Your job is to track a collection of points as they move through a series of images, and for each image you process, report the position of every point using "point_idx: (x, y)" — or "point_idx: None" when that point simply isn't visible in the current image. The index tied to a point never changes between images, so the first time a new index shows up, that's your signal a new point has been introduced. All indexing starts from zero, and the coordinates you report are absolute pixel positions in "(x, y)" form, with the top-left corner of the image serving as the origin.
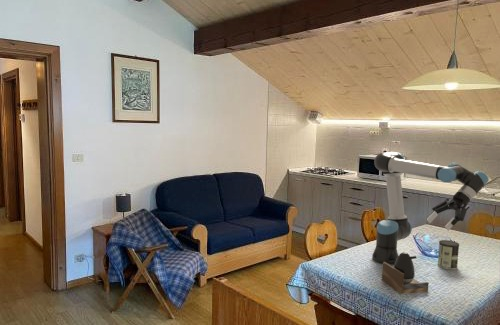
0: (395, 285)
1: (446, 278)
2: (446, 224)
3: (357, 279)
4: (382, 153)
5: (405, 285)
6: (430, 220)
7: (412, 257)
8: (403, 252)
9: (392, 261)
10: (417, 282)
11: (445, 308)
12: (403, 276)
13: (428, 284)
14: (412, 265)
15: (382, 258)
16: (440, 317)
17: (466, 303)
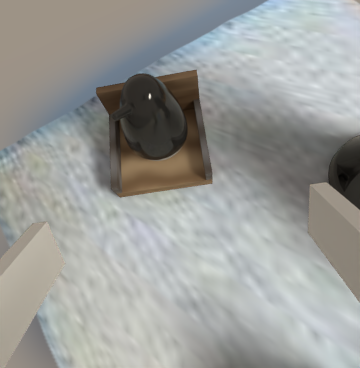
0: None
1: (208, 324)
2: (32, 239)
3: (208, 57)
4: None
5: (110, 121)
6: (319, 228)
7: (119, 108)
8: (143, 79)
9: (335, 180)
10: (152, 180)
11: (32, 189)
12: (99, 97)
13: (113, 190)
14: (123, 125)
15: (346, 146)
16: (4, 156)
17: None
